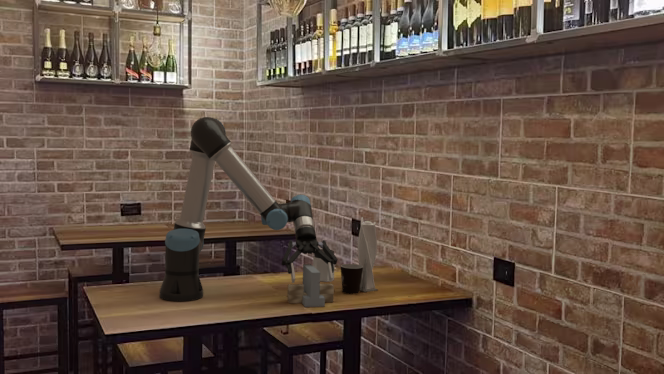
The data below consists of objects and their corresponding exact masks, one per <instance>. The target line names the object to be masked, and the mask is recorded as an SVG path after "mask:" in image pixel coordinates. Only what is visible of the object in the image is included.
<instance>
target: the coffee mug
mask: <svg viewBox="0 0 664 374" xmlns="http://www.w3.org/2000/svg"><path fill="white" fill-rule="evenodd" d="M362 271H363V266H362V265H359V264H356V263H355V264H354V263H343V264H341V265H340V275H341V277H340V278H341V288H342V289H341V290H342V293H343V294H346V295H357V294H359V293H360V291H359V290H360V284H361V277H362Z"/></svg>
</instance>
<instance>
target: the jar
mask: <svg viewBox="0 0 664 374" xmlns="http://www.w3.org/2000/svg"><path fill="white" fill-rule="evenodd" d="M320 250H321V251H322V252H324V251H323V249H322V248H320ZM330 250H331V251H332V253H333V254H334V255H335V251H334V250H333V249H330ZM324 253H325V252H324ZM313 255H314V256H313V257H312V258H313V259H312V265H313V266H314V267H315V268H316V269H317V270H318V271H319V272H320V282H322V283H323V282H324V283H325V282H326V283H328V282H329V283H330V281H329V276H328V270H327V265H328V264H327V263H325V262H324V261H323V260H322V259H321V258H320V257H318V256H317V255H315V254H314V253H313ZM335 265H336V264H335ZM335 265H334V268H335ZM332 274H333V280H332V282H333V281H334V280H335V271H334V272H333V273H332Z"/></svg>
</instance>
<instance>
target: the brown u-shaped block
mask: <svg viewBox="0 0 664 374" xmlns="http://www.w3.org/2000/svg"><path fill="white" fill-rule="evenodd" d="M334 289H335V285H334V284H333V283H320V294H319V295H323V296H324V297H325V303H333V302H334V294H335V293H334V292H335V291H334ZM303 291H304V286H303V283H302V284H301V283H298V284H295V283H292V284H287V302H288V303H289V304H303V296H308V295H307V293H306V292H303Z"/></svg>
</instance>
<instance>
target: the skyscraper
mask: <svg viewBox="0 0 664 374" xmlns="http://www.w3.org/2000/svg"><path fill="white" fill-rule="evenodd" d="M376 224H377V223H376V221H374V222H372V221H367V220H365V221H364V217H363V216H361V218H360V229H359V231H358V232H359V233H358V238H357V261H358V265H362V266H363V271H362V277H361V284H360V290H359V292H362V293H369V292H376V291H378V290H379V289H378V288H376V285H375V284H376V283H375V281H374V279H375V278H374V271H373V269H374V266H375V263H376V262H375V261H376V257H377V251H378V238H377V229H376Z"/></svg>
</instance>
